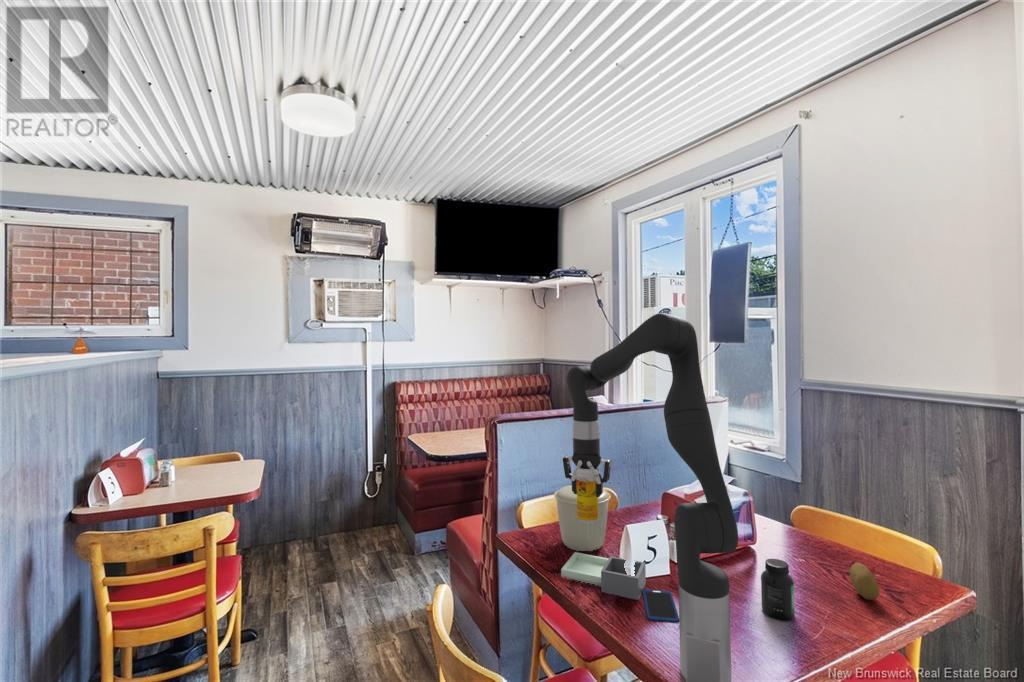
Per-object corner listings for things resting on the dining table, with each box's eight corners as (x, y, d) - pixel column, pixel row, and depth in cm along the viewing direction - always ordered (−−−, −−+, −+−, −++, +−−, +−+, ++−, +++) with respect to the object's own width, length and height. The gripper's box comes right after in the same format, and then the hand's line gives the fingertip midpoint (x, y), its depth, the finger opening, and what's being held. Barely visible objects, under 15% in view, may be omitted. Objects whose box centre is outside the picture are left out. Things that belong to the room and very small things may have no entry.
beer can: (574, 521, 133) (572, 468, 133) (581, 514, 138) (580, 463, 138) (594, 525, 130) (593, 470, 130) (601, 517, 135) (600, 465, 136)
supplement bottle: (801, 619, 110) (800, 567, 110) (776, 623, 108) (775, 571, 108) (779, 604, 116) (778, 555, 116) (755, 607, 115) (754, 558, 115)
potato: (875, 608, 114) (875, 575, 114) (840, 594, 120) (840, 563, 120) (889, 600, 117) (888, 567, 117) (854, 587, 124) (853, 556, 124)
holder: (638, 600, 119) (638, 578, 119) (601, 592, 123) (601, 570, 123) (645, 582, 128) (645, 562, 128) (610, 575, 132) (610, 556, 132)
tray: (603, 586, 126) (603, 577, 126) (561, 577, 131) (561, 569, 131) (614, 567, 137) (614, 559, 137) (575, 560, 142) (575, 552, 142)
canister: (546, 538, 158) (545, 475, 159) (595, 531, 164) (594, 470, 164) (569, 561, 141) (567, 491, 141) (622, 553, 146) (621, 484, 147)
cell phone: (670, 593, 123) (670, 590, 123) (680, 624, 109) (680, 621, 109) (641, 591, 124) (641, 588, 124) (647, 621, 110) (647, 618, 110)
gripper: (557, 436, 134) (558, 495, 134) (607, 440, 128) (608, 502, 128) (566, 432, 141) (567, 488, 141) (614, 435, 135) (615, 494, 134)
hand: (587, 494), depth 134 cm, fingers closed on beer can, 6 cm apart
